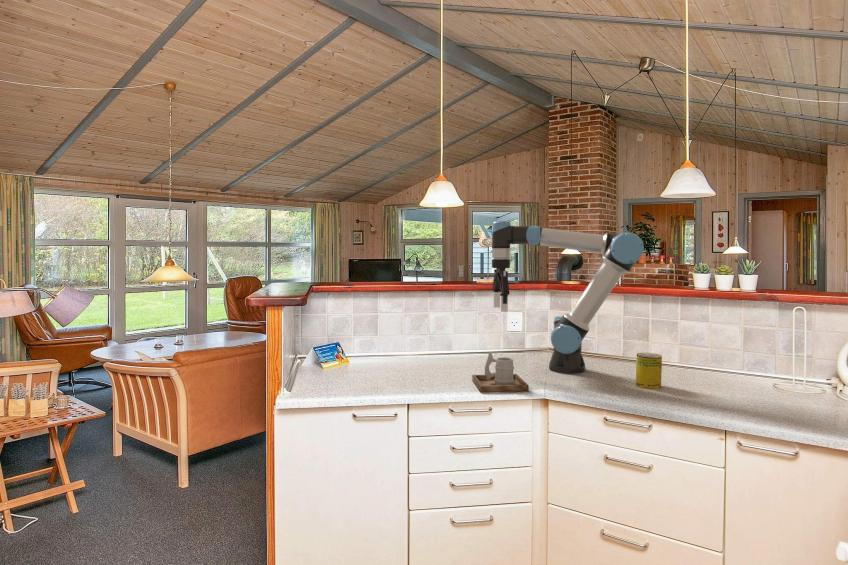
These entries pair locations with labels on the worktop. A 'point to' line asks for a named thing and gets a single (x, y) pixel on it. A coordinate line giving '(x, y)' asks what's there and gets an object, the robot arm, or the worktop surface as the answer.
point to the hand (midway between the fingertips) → (500, 309)
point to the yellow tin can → (648, 370)
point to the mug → (500, 370)
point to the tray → (490, 386)
